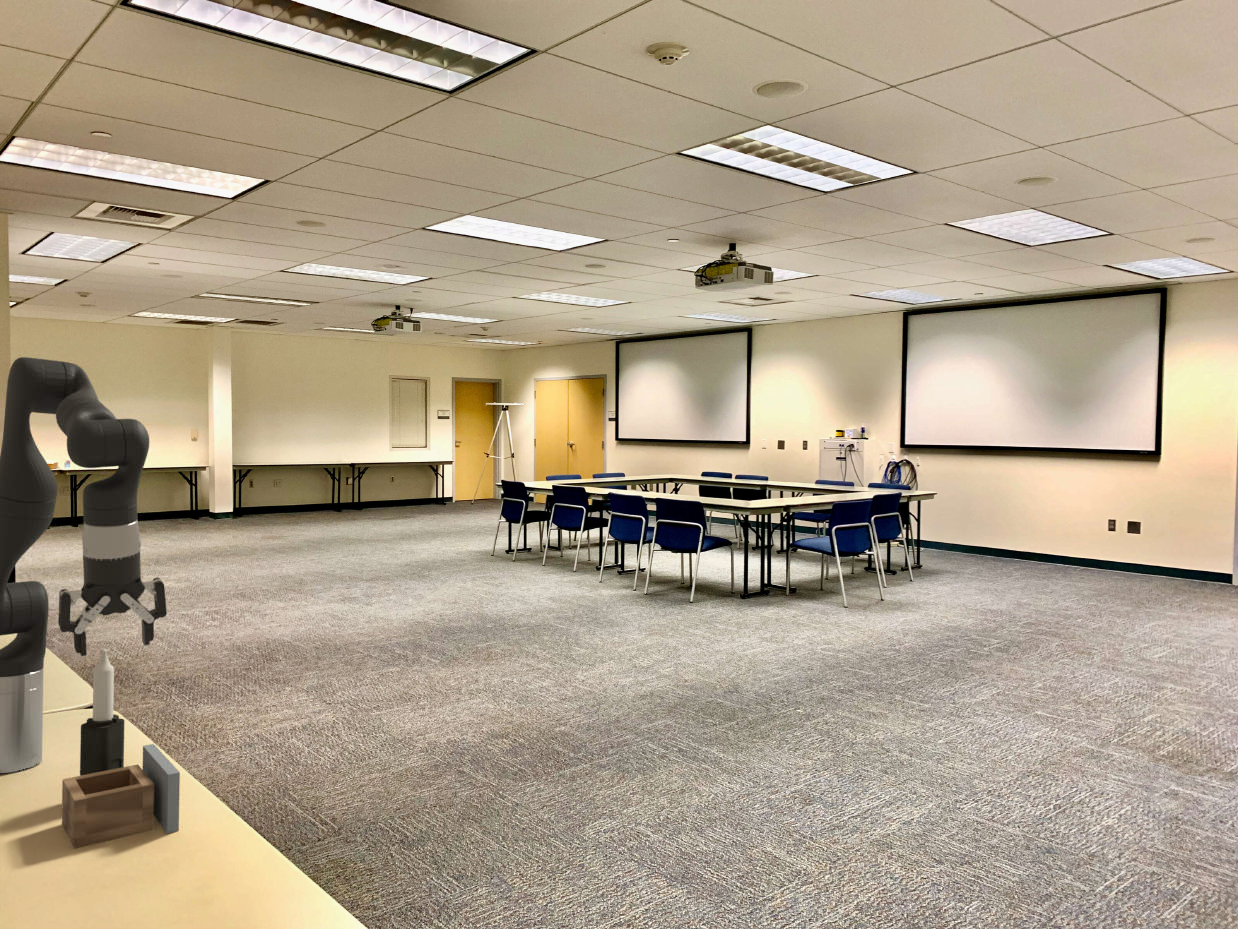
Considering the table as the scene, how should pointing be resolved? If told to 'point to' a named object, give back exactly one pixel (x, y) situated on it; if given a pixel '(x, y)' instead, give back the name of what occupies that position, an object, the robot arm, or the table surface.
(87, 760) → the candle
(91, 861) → the table surface
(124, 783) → the socket block
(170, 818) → the backstop wall
